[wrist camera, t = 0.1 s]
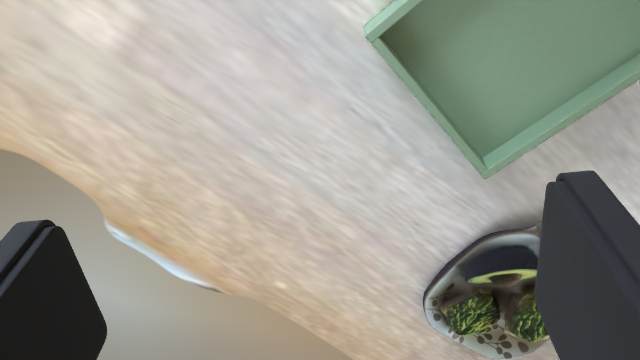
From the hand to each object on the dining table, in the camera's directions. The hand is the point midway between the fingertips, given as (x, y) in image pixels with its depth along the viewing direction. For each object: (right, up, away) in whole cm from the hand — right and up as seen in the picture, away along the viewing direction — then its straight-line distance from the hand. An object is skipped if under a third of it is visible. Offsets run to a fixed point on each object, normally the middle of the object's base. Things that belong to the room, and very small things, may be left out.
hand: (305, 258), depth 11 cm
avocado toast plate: (+21, -10, +49) cm, 55 cm away
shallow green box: (+17, +14, +35) cm, 41 cm away
